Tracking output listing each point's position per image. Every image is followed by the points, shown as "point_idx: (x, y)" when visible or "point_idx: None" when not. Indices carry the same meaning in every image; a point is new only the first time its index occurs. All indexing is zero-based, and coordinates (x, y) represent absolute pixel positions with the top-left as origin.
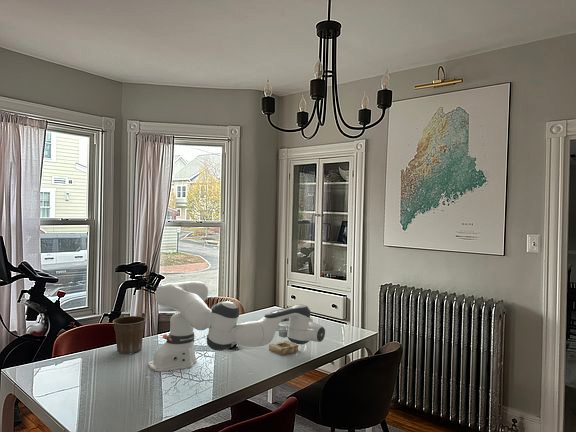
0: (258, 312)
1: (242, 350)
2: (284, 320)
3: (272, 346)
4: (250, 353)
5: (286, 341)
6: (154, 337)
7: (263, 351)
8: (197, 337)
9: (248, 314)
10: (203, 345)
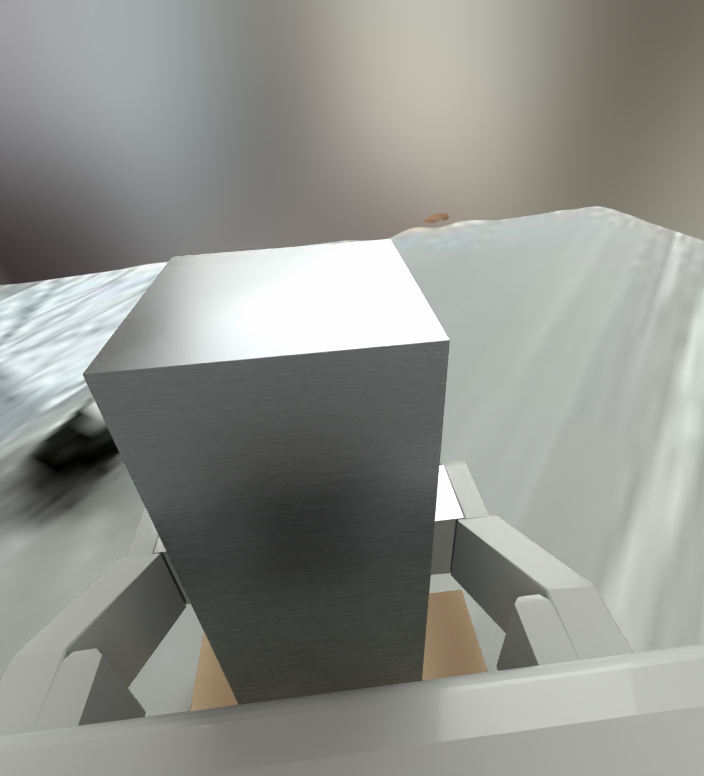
0: (515, 221)
1: (56, 543)
2: (211, 579)
3: (193, 699)
4: (13, 649)
5: (447, 618)
6: (14, 289)
7: (149, 660)
8: (115, 318)
9: (468, 226)
10: (17, 388)
